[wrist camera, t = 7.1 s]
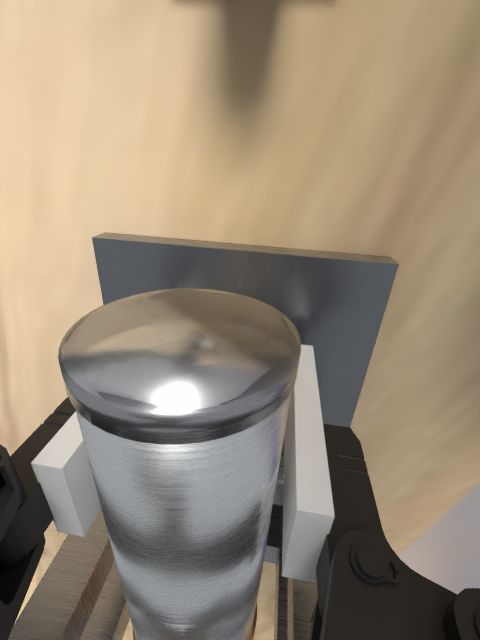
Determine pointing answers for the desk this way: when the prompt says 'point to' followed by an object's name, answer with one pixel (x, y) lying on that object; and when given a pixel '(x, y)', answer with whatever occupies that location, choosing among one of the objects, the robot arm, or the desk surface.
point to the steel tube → (184, 449)
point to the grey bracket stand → (336, 407)
